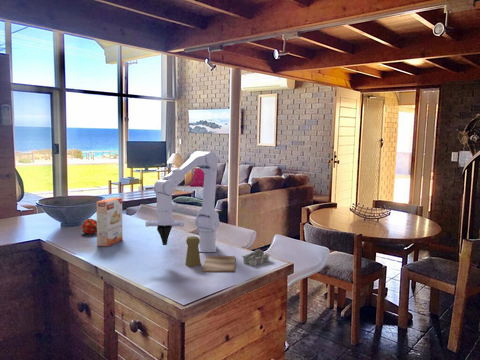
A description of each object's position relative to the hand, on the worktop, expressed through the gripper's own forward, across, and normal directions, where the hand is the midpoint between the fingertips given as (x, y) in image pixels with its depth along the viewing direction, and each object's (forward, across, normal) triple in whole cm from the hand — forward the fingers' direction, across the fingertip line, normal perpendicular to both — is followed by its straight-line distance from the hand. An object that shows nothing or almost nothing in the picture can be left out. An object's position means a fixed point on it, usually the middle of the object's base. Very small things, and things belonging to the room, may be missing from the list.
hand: (164, 244), depth 152 cm
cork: (+8, +11, 0) cm, 14 cm away
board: (+8, +22, 0) cm, 23 cm away
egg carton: (+8, +36, +4) cm, 37 cm away
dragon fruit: (+8, -48, +49) cm, 69 cm away
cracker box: (+8, -32, +31) cm, 45 cm away
